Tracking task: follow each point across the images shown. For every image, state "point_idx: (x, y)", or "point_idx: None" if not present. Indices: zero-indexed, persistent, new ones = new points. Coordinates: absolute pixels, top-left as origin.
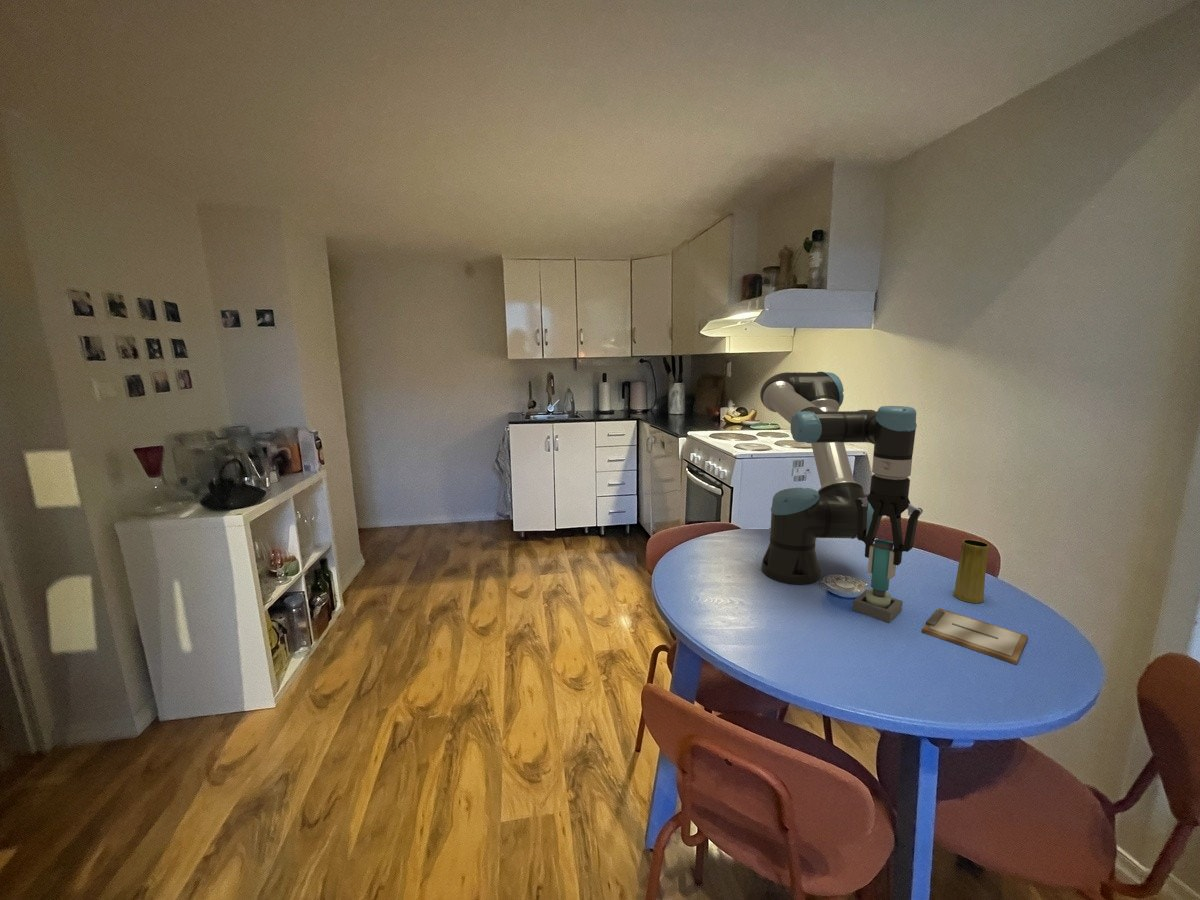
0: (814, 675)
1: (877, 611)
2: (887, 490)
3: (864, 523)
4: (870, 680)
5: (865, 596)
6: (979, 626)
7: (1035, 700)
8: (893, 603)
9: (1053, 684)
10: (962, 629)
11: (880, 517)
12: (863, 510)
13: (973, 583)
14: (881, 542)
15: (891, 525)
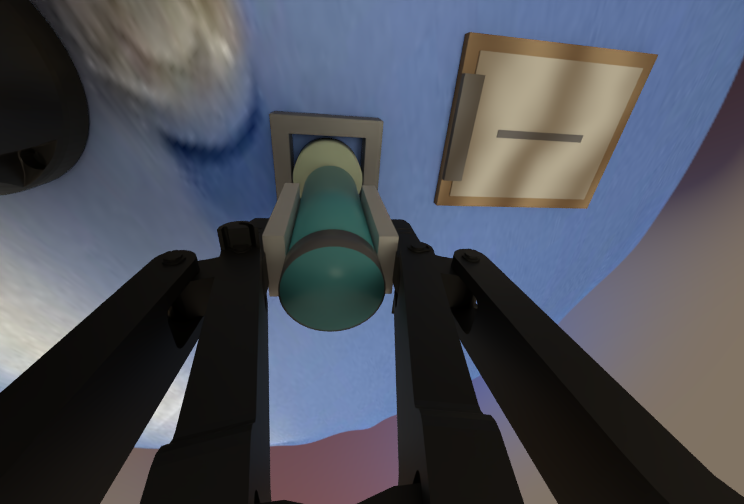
0: (334, 408)
1: None
2: None
3: (139, 388)
4: (391, 377)
5: (291, 171)
6: (557, 96)
7: (573, 285)
8: (366, 161)
9: (615, 227)
10: (516, 148)
11: (263, 469)
12: None
13: None
14: (326, 312)
15: (398, 442)
